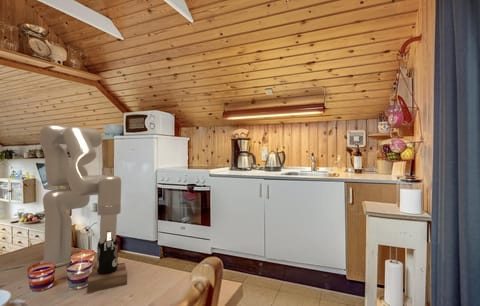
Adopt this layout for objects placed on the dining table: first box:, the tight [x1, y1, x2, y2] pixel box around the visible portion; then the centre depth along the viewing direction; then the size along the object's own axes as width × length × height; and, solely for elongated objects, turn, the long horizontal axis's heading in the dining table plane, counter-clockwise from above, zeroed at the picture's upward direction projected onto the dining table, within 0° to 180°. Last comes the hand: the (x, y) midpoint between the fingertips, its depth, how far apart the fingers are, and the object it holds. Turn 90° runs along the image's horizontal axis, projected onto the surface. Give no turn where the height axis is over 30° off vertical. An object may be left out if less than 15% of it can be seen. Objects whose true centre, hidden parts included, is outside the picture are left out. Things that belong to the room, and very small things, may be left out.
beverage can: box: [96, 236, 119, 274], centre depth 90 cm, size 7×7×12 cm
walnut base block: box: [86, 262, 128, 294], centre depth 90 cm, size 12×12×4 cm
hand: (108, 256), depth 90 cm, fingers open, 9 cm apart
